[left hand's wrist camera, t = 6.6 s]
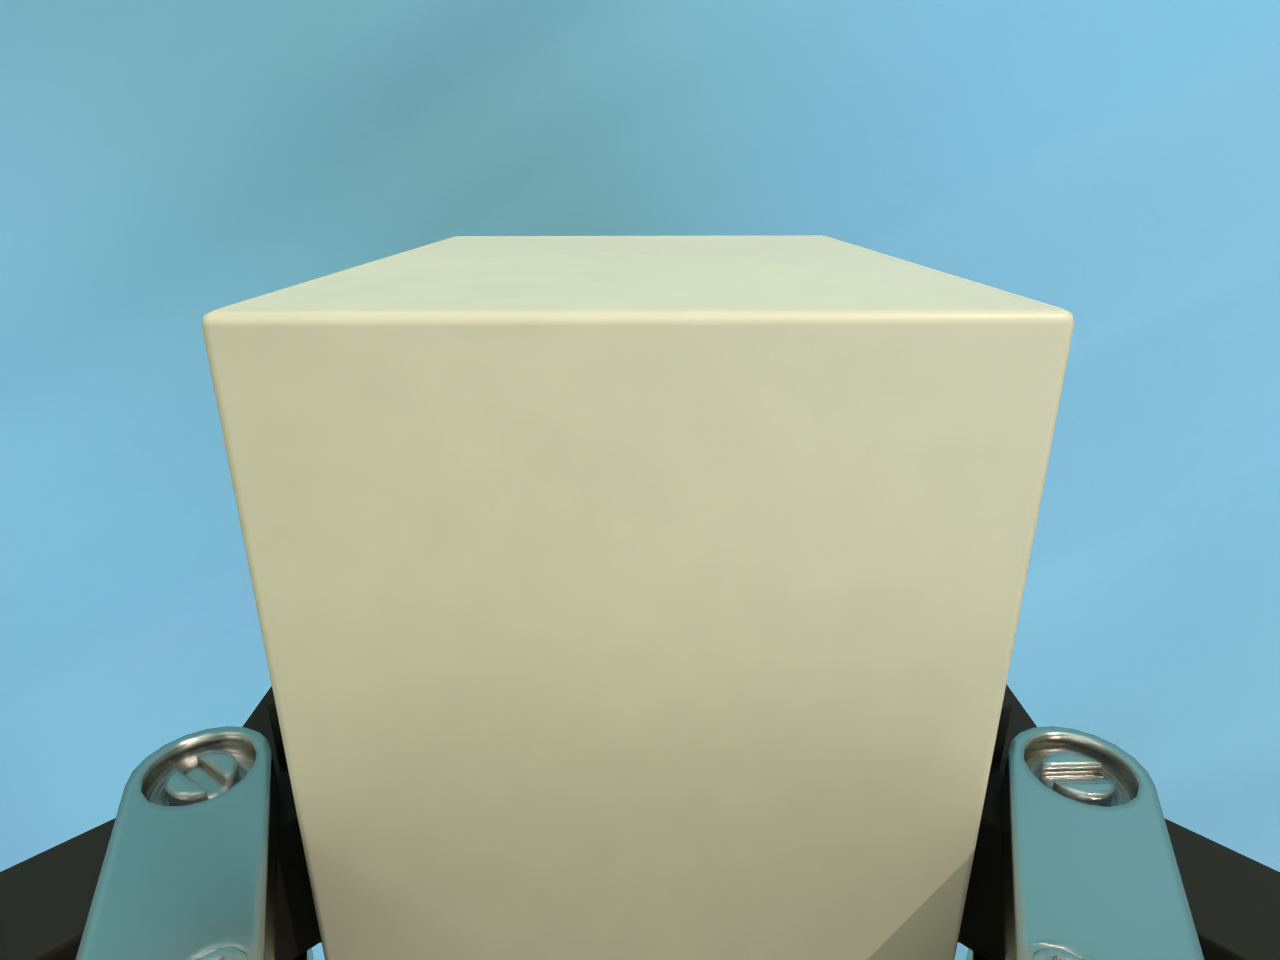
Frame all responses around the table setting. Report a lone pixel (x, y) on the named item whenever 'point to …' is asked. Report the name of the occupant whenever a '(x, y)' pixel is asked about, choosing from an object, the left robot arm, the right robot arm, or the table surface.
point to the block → (638, 588)
